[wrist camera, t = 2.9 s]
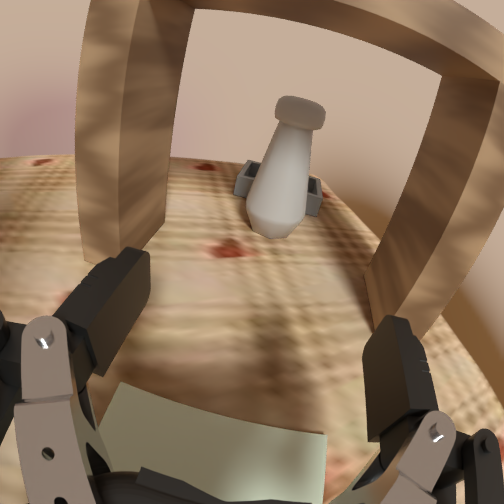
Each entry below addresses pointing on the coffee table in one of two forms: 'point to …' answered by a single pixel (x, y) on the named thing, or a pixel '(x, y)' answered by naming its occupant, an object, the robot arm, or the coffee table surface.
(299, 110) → the salt shaker
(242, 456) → the mat
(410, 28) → the tunnel gate
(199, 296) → the coffee table surface
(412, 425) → the robot arm
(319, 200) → the trap tray
